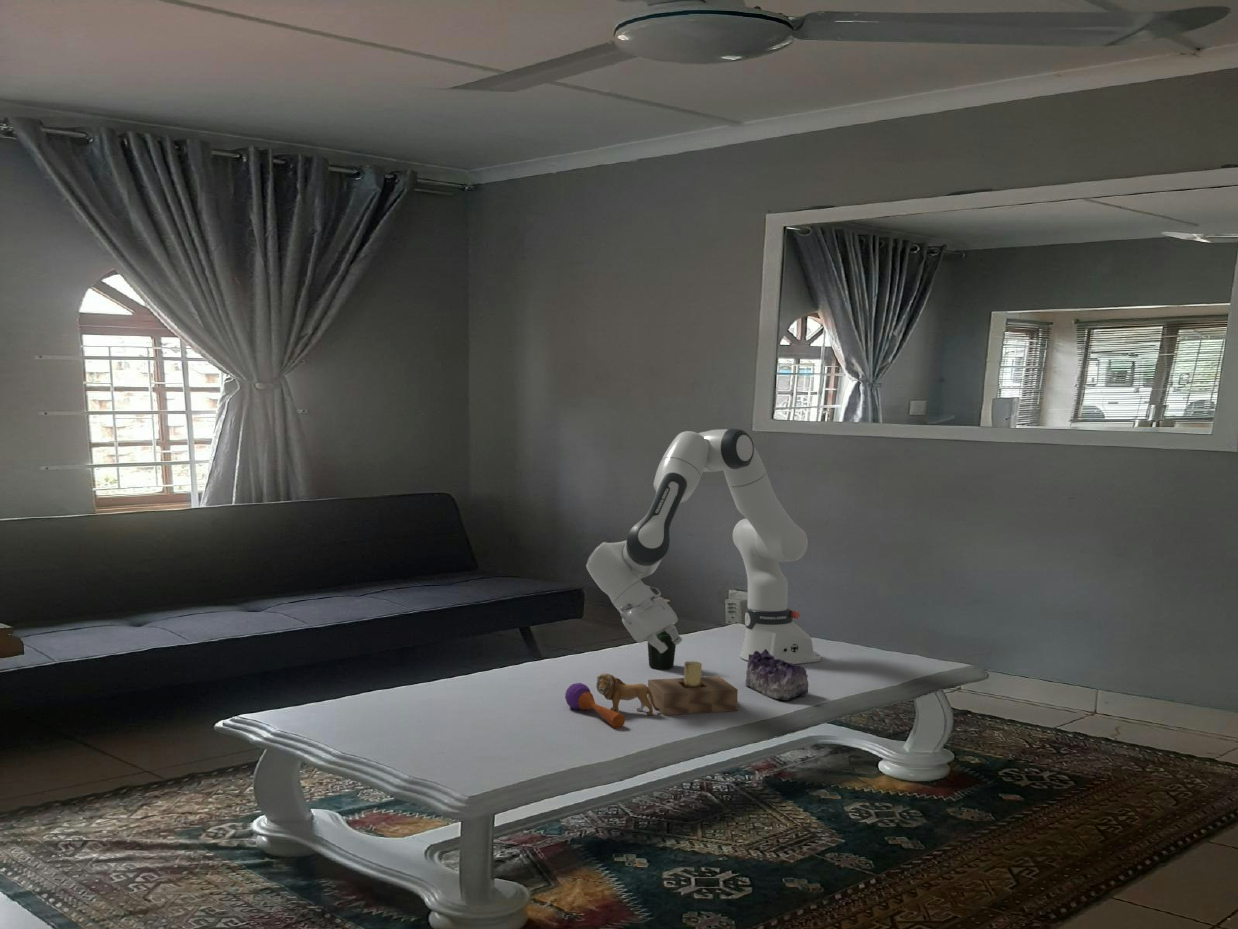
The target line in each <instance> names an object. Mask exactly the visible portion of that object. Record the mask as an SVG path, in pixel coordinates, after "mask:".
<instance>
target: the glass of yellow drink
mask: <svg viewBox="0 0 1238 929" xmlns="http://www.w3.org/2000/svg"><path fill="white" fill-rule="evenodd" d="M683 666H684V668H683V670H684V672H683V678H684V688H700V687H701V677H702V666H703V664H702V663H701V662H698V661H685V662H684V665H683Z"/></svg>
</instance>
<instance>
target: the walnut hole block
mask: <svg viewBox="0 0 1238 929" xmlns="http://www.w3.org/2000/svg"><path fill="white" fill-rule="evenodd" d="M647 687H648V688H649V689H650V691H651V693H652V696H653V700H654V705H655V707H657V708H658V709H660V711H658V712H659V713H660V714H662V715H663V716H669V715H672V716H673V715H687V714H701V713H702V714H703V713H720V712H736V711H738V691H739V690H738V688H736V687H735V686H734V685H732V684H731V683H729V682H728V681H727V680H725V679H724V678H722V677H721V676H720V675H719V676H718V675H716V676H701V687H700V688H684V677H679V678H676V677H675V678H658V679H657V678H656V679H648V680H647ZM647 698H648V701H649V703H650V704H651V705H652V702H651V699H650V696H649V693H648V694H647Z"/></svg>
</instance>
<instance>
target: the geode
mask: <svg viewBox="0 0 1238 929" xmlns="http://www.w3.org/2000/svg"><path fill="white" fill-rule="evenodd" d="M747 661H748V662H747V663H746V664H747V667H746V671H745V673H746V678H745V679H746V680H745V686H746V687H749V688H751V689H753V690H755V691H756V692H758V693H761V694H762V695H764V696H767V697H770V698H772V699H776V700H782V701H783V702H787V701H789V700H791V699H794V698H795V697H798V696H801V695H805V694H808V693H809V681H808V677H809V676H808V674H807V670H806V668H805V667H804V666H803V665H796V664H793V663H787V662H785V661H784V660H780V659H776V660H775V659H774V656H772V655H770V654H769V652H768V651H767V650H766V649H765V650H764V651H763V652H762V653H759V652H758V651H755V652H754V654H753V655H751V654H749V659H748V660H747Z"/></svg>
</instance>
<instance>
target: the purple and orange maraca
mask: <svg viewBox="0 0 1238 929" xmlns="http://www.w3.org/2000/svg"><path fill="white" fill-rule="evenodd" d="M564 698H565V701H566V704H567V705H568V707H570V708H571V709H573V710H582V711H584V710H585V711H586V710H591V709H593V710H594V711H595V712H596V713H597V714H599V716H601V717H602V718H603V719H604V720H605V721H606V722H607V723H608V724H609V725H610V726H611V727H612V728H614V729H620V728H623V726H624V725H625V722H626V719H625V715H624V714H621V713H619V712H618V713H617V712H614V710H610V708H608V707H604V706H602V705H599V704H597V703H596V701H595V698H594V695H593V694H592V692H591V690H590V688H589V687H588V685H586V684H584V683H582V682H579V683H578V682H576V683H572V684H571V685H569V686H568V687H567V689H566V690H565V696H564Z"/></svg>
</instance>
